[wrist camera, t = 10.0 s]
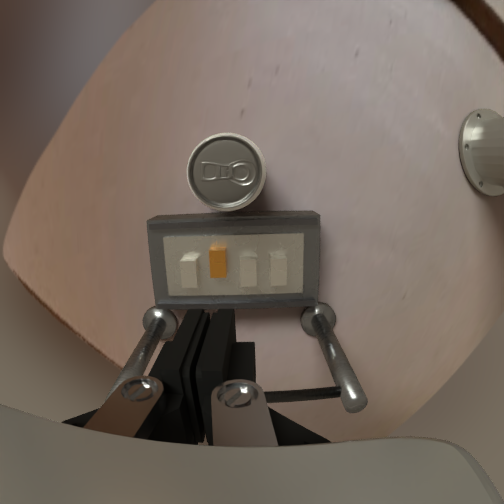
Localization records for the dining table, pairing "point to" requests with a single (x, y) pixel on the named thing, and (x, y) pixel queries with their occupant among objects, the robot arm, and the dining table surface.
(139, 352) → the cord stand
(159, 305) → the breaker panel
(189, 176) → the can
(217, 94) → the dining table surface
